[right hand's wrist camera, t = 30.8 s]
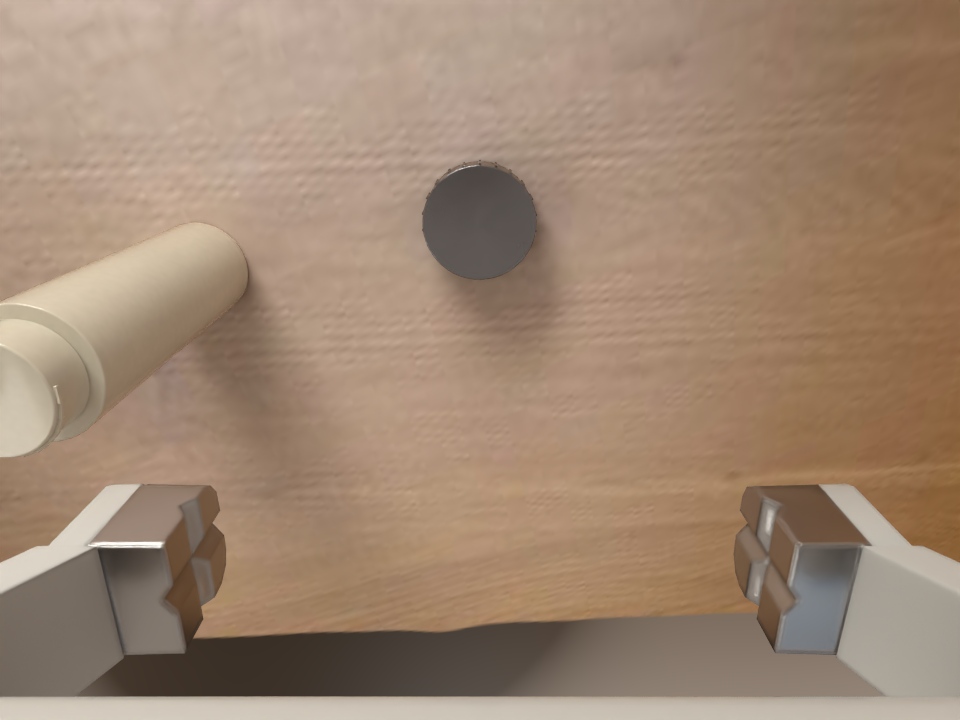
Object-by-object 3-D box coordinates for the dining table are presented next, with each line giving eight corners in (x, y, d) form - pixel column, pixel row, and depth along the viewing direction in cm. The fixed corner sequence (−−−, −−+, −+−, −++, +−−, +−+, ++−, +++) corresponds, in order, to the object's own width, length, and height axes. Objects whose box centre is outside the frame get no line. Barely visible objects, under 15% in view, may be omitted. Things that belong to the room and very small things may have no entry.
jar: (166, 316, 39) (-64, 477, 23) (144, 225, 38) (-125, 328, 21) (256, 310, 39) (91, 468, 23) (238, 219, 37) (44, 317, 21)
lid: (497, 137, 36) (498, 140, 34) (554, 234, 38) (558, 242, 36) (403, 198, 37) (398, 205, 35) (463, 290, 39) (462, 301, 37)
